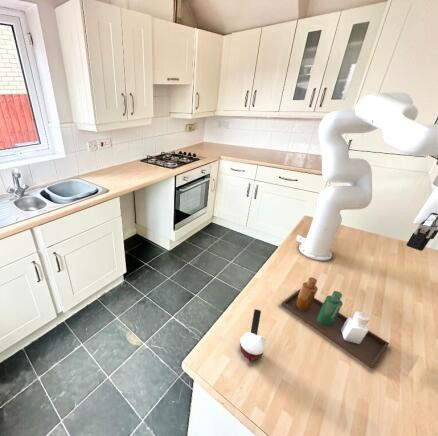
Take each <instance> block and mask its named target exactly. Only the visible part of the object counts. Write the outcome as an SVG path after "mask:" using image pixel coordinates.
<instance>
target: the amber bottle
mask: <svg viewBox="0 0 438 436" xmlns="http://www.w3.org/2000/svg"><path fill="white" fill-rule="evenodd" d="M317 283H318V279H316V278H315V277H313V276H311V277H309V278H308V280H307V281H304V282H303V283H302V285H301V287H300V289H301V290H300V292H299V295H298V297H297V300H296V302H295V305H296V307H297V308H298V309H300V310H302V311H308V310H309V308H310V306H311V304H312V302H313V299H314V298H316V295H317V293H318V289H319V288H318V287H317Z"/></svg>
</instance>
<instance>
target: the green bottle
mask: <svg viewBox="0 0 438 436" xmlns="http://www.w3.org/2000/svg"><path fill="white" fill-rule="evenodd" d="M342 297H343V293H342V292H340V291H338V290H334V291H333V292H332V293H331V295H327V296H325V299H324V300H323V302H322V303H323V305H322V307H321V309H320V311H319V313H318V315H317V320H318V322H319V323H321V324H322V325H324V326H331V325H332V324H333V322H334V320H335V318H336V316H337V314H338V313H340V311H341V309H342V307H343V305H344V303H343V301H342V300H341V299H342Z"/></svg>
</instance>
